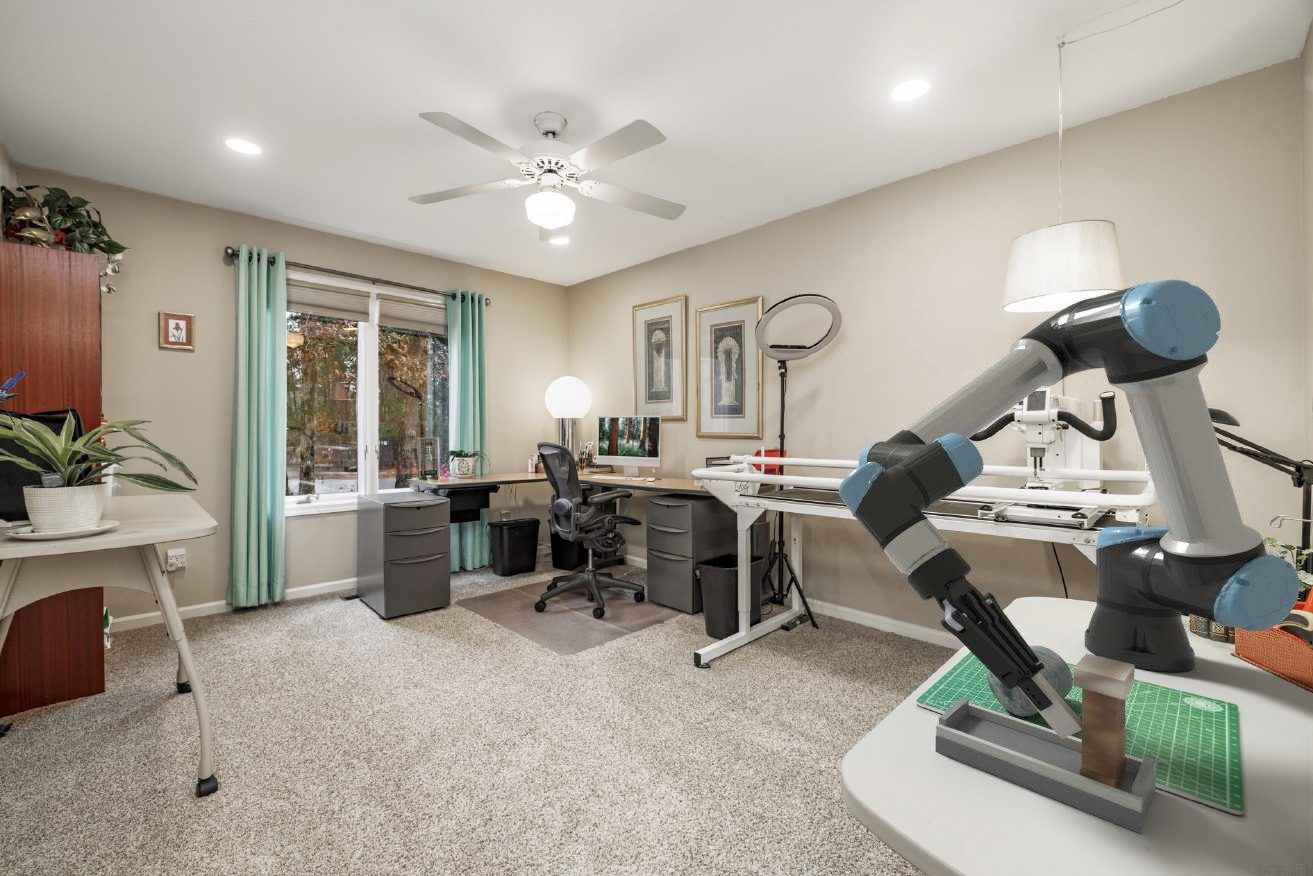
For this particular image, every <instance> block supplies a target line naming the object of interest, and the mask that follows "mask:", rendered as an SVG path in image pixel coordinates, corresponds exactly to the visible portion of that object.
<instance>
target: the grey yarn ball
mask: <svg viewBox="0 0 1313 876" xmlns="http://www.w3.org/2000/svg"><path fill="white" fill-rule="evenodd" d="M1029 647H1030V648H1031V649H1032V651H1033V652H1034V653H1035V655H1036V656H1037V657H1038V659H1039V662H1038V663H1037V664H1036V665H1038V664H1040V663H1041V662H1042V663H1043V664H1044V666H1045V668H1044V669H1042V670H1040V671H1038V673H1039V672H1040V673H1041V675H1042V676H1043V677H1044V678H1045V679H1046V680H1047V682H1048V683H1049V684H1050V685H1051V686H1052V687H1053V688H1054V690H1055V691H1056V692H1057V693H1058V694H1059V695H1060V696H1061V698H1062V699H1063V700H1064V699H1065V698H1066V697H1067V696H1068V695H1069V693H1070V692H1071V691H1072V689H1073V687H1074V686H1073V683H1074V676H1073V675H1072V672H1071V670H1070V667H1069V665H1068V664H1067V663H1066V661H1065V659H1064V658H1063V657H1061V656H1060V655H1059V654H1058V653H1057V652H1055V651H1054V650H1052V649H1051V648H1049V647H1046V646H1042V645H1029ZM986 677H987V678H986V679H987V683H988V686H989V689H990V692H991V693H992V695H993V696H994V697H995V699H996V700H997V701H998V703H999V704H1000V705H1001V706H1002V707H1003V708H1004V709H1005V710H1006V711H1008V712H1010V713H1011V714H1012V715H1015V716H1018V717H1032V716H1035V715H1037V714H1038V713H1039V712H1038V711H1037V709H1036V708H1035V707H1034V706H1033V705H1032V703H1031V702H1030V701H1029V700H1028V699H1027V697H1026V696H1025V695H1024V694H1023V693H1022V691H1021V690H1020V689H1019V688H1018V687H1017V686H1016V687H1014V688H1013V689H1008V688H1007V687H1006V686H1005V685H1004V684H1002V683H1001V682H1000V681H999V680H998V679H997V677H996V676H995V675H994V674H993V673H992V672H991V671H990V670H989V669H988V668H987V673H986Z"/></svg>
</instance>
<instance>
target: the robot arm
mask: <svg viewBox="0 0 1313 876" xmlns="http://www.w3.org/2000/svg"><path fill="white" fill-rule="evenodd" d="M1221 322H1222V321H1221V315H1220V312H1219V309H1218V307H1217V305H1216V303H1215V302H1214V300H1213V299H1212V298H1211V296H1210V295H1209V294H1208V292H1206V291H1204V289H1202V288H1201V287H1199V286H1198V285H1192V284H1191V283H1190V282H1189V281H1185V280H1180V279H1165V280H1164V279H1163V280H1160V281H1155V282H1144V283H1141V284H1137V285H1134V286H1131V287H1127V288H1124V289H1120V290H1117V291H1114V292H1113V291H1112V292H1110V293H1106V294H1103V295H1098V296H1095V297H1090V298H1086V299H1082V300H1080V301H1077V302H1075V303H1072V304H1071V305H1068V306H1067V307H1065V308H1063V309H1061V310H1060V311H1058V312H1056V313H1055V314H1053V315H1052V316H1050V317H1049V318H1048V319H1045V321H1043V322H1041V323H1040V324H1038V325H1037V326H1035V327H1034V328H1033V329H1032V330H1031V329H1030V331H1029V332H1027V333H1025V335H1022V336H1021V337H1020V338H1019V339H1017V340H1016V341H1015V342H1014V343H1013V344H1012V345H1011V346H1010V349H1009V353H1008V354H1007V355H1005V356H1004V357H1002V358H1001V359H1000V360H998V361H997V362H995V363H994V364H992V365H991V366H990V367H988V368H987V369H985V371H983V372H982V373H980V374H979V375H978V376H976V377H975V378H973V379H972V380H971V381H969V382H968V383H967V384H965V385H963V386H962V387H960V388H959V389H957V390H956V391H955V392H953V393H952V394H951V395H949V396H948V397H947V398H945V399H944V400H942V401H941V402H940V403H938V404H937V405H935V406H934V407H933V408H931V409H929V410H928V411H926V413H925V414H923V415H922V416H920V417H919V418H918V419H916V420H914V421H913V422H911V423H910V424H909V425H908V426H906V427H905V428H904V429H901V430H900V431H899V432H897V433H895V434H893V436H892V437H889V439H887V440H886V441H878V442H874V443H871V444H868V445H867V446H865V448H863V450H862V452H861V453H860V455H859V458H858V467H857V468H854V470H852V471H851V472H850V473H849V474H847V476H845V478H844V479H843V480H842V481H841V483H840V485H839V489H838V495H839V497H840V498H841V500H842V501H843V503H844V505H845V506H846V507H847V509H848V510H849V511H850V512H851V514H852V517H854V518H855V519H856V520H857V521H858V522H859V524H861V527H863V528H864V530H865V531H866V532H867V533H868V534H869V535H870V536H871V537H872V538H873V540H874V541H875V542H876V543H877V545H878V546H879V547H880V548H881V550H882V551H883V552H884V553H885V554H886V556H887V558H889V560H888V561H889V563H890V564H892V565H894V566H895V567H896V568H897V569H898V571H899V572H900V573H901V574H904V575H908V576H907V582H908V584H909V585H910V586H911V587H912V588H913V590H914V591H915V592H916V593H917V595H919V597H920V598H921V600H924V601H930V600H932V599H935V601H936V602H937V604H938V607H939V608H940V609H941V611H942V612H943V613H944V614H945V617H943V618H942V619H941V620H940V625H941V626H942V627H943V628H944V629H945V630H947V631H948V632H949V633H951V634H952V635H954V637H956V639H957V640H959V641H960V642H961V643H962V644H963V645H964V647H966V648H967V649H968V650H969V651H970V653H972V654H973V656H975V658H977V660H979V661H980V663H981V664H983V665H984V666H985V667H986V669H987V670H988V669H989V670H990V671H991V672H992V673H993V674H994V675H995V676H996V677H997V679H998V680H999V681H1000V682H1001V683H1002V684H1004V685H1005V686H1006V687H1007V688H1008V689H1013V688H1014V687H1016V686H1017V687H1018V688H1019V689H1020V690H1021V691H1022V693H1023V694H1024V695H1025V696H1026V697H1027V699H1028V700H1029V701H1030V702H1031V703H1032V705H1033V706H1034V707H1035V708H1036V709H1037V711H1038V713H1039V715H1040V716H1041V717H1042V718H1043V719H1044V720H1045V721H1046V723H1047V724H1048V725H1049V726H1050V727H1051V729H1052V730H1054V731H1055V732H1056V733H1057V734H1058V736H1059V737H1060V738H1061V739H1063V738H1066V737H1068V736H1073V735H1074V734H1076V733H1078V732H1080V731H1082V718H1080V717H1079V716H1078V714H1077V713H1076V712H1075V711H1073V709H1072V708H1071V707H1070V705H1069V704H1068V703H1067V702H1066V701H1065V700H1064V698H1063V699H1062V698H1061V696H1060V695H1059V694H1058V693H1057V692H1056V691H1055V690H1054V688H1053V687H1052V686H1051V685H1050V684H1049V683H1048V682H1047V680H1046V679H1045V678H1044V677H1043V676H1042V675H1041V673H1040V672H1039V673H1038V671H1040V670H1042V669H1044V668H1045V666H1044V664H1043V663H1042V662H1041V663H1040V664H1038V665H1036V664H1037V663H1038V662H1039V659H1038V657H1037V656H1036V655H1035V653H1034V652H1033V651H1032V649H1031V648H1030V647H1029V646H1030V645H1029V644H1028V642H1027V641H1026V640H1025V639H1024V637H1023V636H1022V635H1021V634H1020V632H1019V631H1018V629H1017V628H1016V627H1015V626H1014V624H1013V623H1012V622H1011V620H1010V618H1009V617H1008V616H1007V615H1006V613H1005V612H1004V611H1003V609H1002V608H1001V606H1000V605H999V602H998V601H997V599H996V597H995V596H994V594H992V593H991V592H987V593H985V594H984V595H983V593H981V591H980V590H979V589H978V588H977V587H976V586H974V584H972V583H970V581H969V580H968V579H967V578H966V576H967V575H969V574H970V572H971V571H972V568H971V566H970V564H969V563H968V562H967V561H966V560H965V558H963V556H962V555H961V554H960V553H959V552H958V551H957V549H956V548H952V547H948V545H949V540H948V539H947V538H946V536H944V535H943V533H942V532H941V531H940V530H939V529H938V528H937V527H936V526H935V525H934V524H933V523H932V521H931V520H930V519H929V518H928V517H927V516H926V515H925V514H924V513H923V512H924V511H926V510H928V509H929V508H930V507H931V506H933V505H935V504H937V503H938V502H940V501H942V500H943V499H945V498H948V497H949V496H950V495H952V494H953V493H955V492H957V491H959V490H960V489H962V488H966V487H967V485H968V484H969V483H971V482H972V481H973V480H976V478H978V477H979V476H980V475H981V474H982V473H983V470H984V460H983V457H982V456H981V453H980V451H979V449H978V447H977V446H976V445H975V444H974V443H973V442H972V441H971V440H970V438H971V437H973V436H974V435H976V434H977V433H978V432H980V431H981V430H982V429H984V428H985V427H987V426H988V425H990V424H991V423H993V422H994V421H996V419H998V418H999V417H1001V416H1002V415H1004V414H1005V413H1006V412H1008V411H1009V410H1011V409H1012V408H1014V407H1015V406H1017V404H1019V403H1020V402H1022V401H1023V400H1024V399H1026V398H1027V397H1029V396H1030V395H1031V394H1033V393H1035V391H1037V390H1038V389H1040V388H1041V387H1051V386H1055V385H1057V384H1058V383H1059V382H1060V381H1062V380H1064V379H1065V378H1067V377H1069V376H1072V375H1075V374H1076V373H1080V372H1084V371H1090V370H1095V369H1104V372H1105V374H1106V375H1105V376H1106V378H1107V382H1108V384H1109V385H1110V386H1112V387H1114V388H1117V389H1119V390H1121V391H1122V392H1124V394H1125V397H1126V400H1127V403H1128V407H1129V411H1130V412H1131V413H1130V414H1131V415H1132V420H1133V423H1134V425H1135V428H1136V432H1137V436H1138V438H1139V442H1140V445H1141V448H1142V451H1143V455H1144V458H1145V461H1146V464H1147V467H1148V471H1149V474H1150V477H1151V479H1152V484H1153V486H1154V489H1155V493H1156V496H1157V499H1158V502H1159V505H1160V509H1161V512H1162V515H1163V519H1164V521H1165V525H1166V527H1165V526H1110V527H1104V528H1102V529H1101V530H1100V531H1099V532H1098V534H1097V544H1096V547H1095V551H1096V552H1095V556H1096V557H1095V558H1096V561H1095V563H1096V566H1095V567H1096V569H1095V570H1096V606H1095V609H1094V611H1093V613H1092V616H1091V618H1090V621H1089V623H1088V628H1086V629H1085V632H1084V647H1085V648H1086V649H1087V650H1088V651H1090V653H1093V655H1094V654H1095V656H1099V657H1104V658H1108V659H1112V660H1116V661H1121V662H1125V663H1129V664H1133V665H1135V666H1134V668H1139V669H1143V670H1150V671H1158V672H1169V673H1170V672H1175V673H1177V672H1187V671H1190V670H1193V669H1194V668H1195V666H1196V665H1195V664H1196V658H1195V657H1196V653H1195V651H1194V648H1193V647H1192V645H1191V643H1190V640H1189V637H1188V634H1187V631H1186V628H1185V626H1184V623H1183V619H1182V613H1186V614H1189V615H1192V616H1196V617H1199V618H1201V619H1205V620H1208V621H1210V622H1211V621H1212V622H1215V623H1217V624H1218V625H1220V626H1222V627H1231V628H1232V627H1233V628H1236V629H1239V630H1243V631H1247V632H1262V631H1266V630H1269V629H1273V628H1274V627H1276V626H1277V625H1279V624H1280V623H1282V622H1284V620H1286V618H1287V617H1288V616H1289V615H1290V614H1291V612H1292V610H1293V608H1294V607H1295V606H1296V603H1297V602H1298V598H1299V594H1300V587H1301V585H1300V584H1301V583H1300V578H1299V573H1298V571H1297V570H1296V568H1295V566H1294V565H1292V563H1291V562H1289V561H1287V560H1286V559H1285V558H1282V557H1280V556H1279V555H1274V554H1268V553H1267V552H1268V551H1267V549H1266V546H1265V543H1264V541H1263V537H1262V534H1261V533H1260V532H1259V531H1257V529H1254V528H1253V527H1250V526H1248V525H1245V524H1244V523H1243V519H1242V516H1241V512H1240V509H1239V506H1238V503H1237V499H1236V496H1235V493H1234V489H1233V487H1232V484H1231V483H1232V482H1231V481H1230V477H1229V473H1228V469H1227V467H1226V463H1225V460H1224V457H1223V453H1222V450H1221V448H1220V444H1219V440H1218V437H1217V434H1216V431H1215V427H1214V425H1213V421H1212V418H1211V415H1210V414H1211V413H1210V411H1209V407H1208V404H1207V402H1206V398H1205V395H1204V391H1203V389H1202V386H1201V381H1200V379H1199V375H1200V373H1201V372H1202V370H1203V369H1204V368H1205V367H1206V365H1207V364H1208V363H1209V358H1208V355H1207V352H1209V351H1210V350H1211V349H1212V348H1213V347H1214V346H1215V345H1216V343H1217V341H1218V340H1219V337H1220V336H1219V335H1218V334H1217V333H1219V332H1220V331H1221V328H1222V323H1221Z"/></svg>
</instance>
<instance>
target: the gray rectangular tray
mask: <svg viewBox="0 0 1313 876" xmlns="http://www.w3.org/2000/svg"><path fill="white" fill-rule="evenodd" d="M935 726H936V728H935V730H936V731H935V732H936V733H935V753H939V754H940V755H943V756H946V757H949V758H951V759H954V760H956V761H958V762H961V763H963V764H966V765H969V766H972V767H974V768H976V769H978V770H981V771H984V772H986V773H988V774H990V775H994V776H996V777H998V778H1000V779H1003V780H1006V781H1008V782H1010V783H1013V784H1015V785H1018V786H1020V787H1024V788H1025V789H1029V790H1031V791H1032V792H1033V791H1034V792H1036V793H1038V794H1041V795H1043V796H1045V797H1048V798H1051V799H1053V800H1056V801H1058V802H1060V803H1063V804H1065V805H1068V806H1071V807H1073V808H1075V809H1078V810H1081V811H1083V812H1086V813H1088V814H1090V815H1093V816H1095V817H1098V818H1101V819H1104V820H1105V821H1108V822H1110V823H1112V824H1115V825H1118V826H1120V827H1123V828H1125V829H1127V830H1131V831H1132V832H1136V833H1138V834H1141V833H1142V830H1143V826H1144V823H1145V822H1146V821H1145V820H1146V818H1147V815H1148V813H1149V810H1150V807H1151V804H1152V801H1153V798H1154V795H1155V793H1156V762H1155V758H1152V757H1149V756H1146V755H1145V756H1144V758H1140V757H1137V756H1133V755H1130V754H1127V753H1125V757H1126V768H1125V770H1124V772H1123V774H1122V777H1121V779H1120V781H1119V783H1118V785H1117V787H1116V788H1114V787H1111V786H1108V785H1105V784H1103V783H1100V782H1097V781H1094V780H1092V779H1089V778H1086V777H1084V776H1081V775H1079V771H1080V769H1081V767H1082V738H1078V737H1075V736H1073V735H1070V736H1068V737H1066V738H1063V739H1061V738H1060V737H1059V736H1058V734H1057V733H1056V732H1055V731H1054V730H1053V729H1052V728H1051V729H1050V728H1047V727H1045V726H1041V725H1038V724H1035V723H1033V722H1030V721H1027V720H1023V719H1020V718H1017V717H1014V716H1011V715H1008V714H1004V713H1001V712H999V711H995V710H993V709H989V708H986V707H983V706H980V705H978V704H974V703H971V702H970V699H968V698H965V697H963V696H962V697H961V698H960V699H959V700H957V702H956V703H954V704H953V705H952V706H951V707H950V708H948V709H947V710H946V711H945V712H943V714H941V715H940V716H938V724H937V725H935Z"/></svg>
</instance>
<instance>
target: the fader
mask: <svg viewBox="0 0 1313 876" xmlns="http://www.w3.org/2000/svg"><path fill="white" fill-rule="evenodd" d="M1134 666H1135V665H1133V664H1129V663H1125V662H1121V661H1116V660H1112V659H1108V658H1104V657H1100V656H1098V655H1096V654H1095V655H1094V654H1090V653H1085V654H1084V655H1083V656H1082V658H1081V659H1080V660H1079V661H1078V662H1077V663H1076V664H1075V665H1074V667H1073V686H1072V687H1076V688H1080V689H1082V690H1081V693H1082V694H1081V695H1082V697H1081V721H1082V730H1081V739H1082V767H1081V769H1080V771H1079V775H1081V776H1084V777H1086V778H1089V779H1092V780H1094V781H1097V782H1100V783H1103V784H1105V785H1108V786H1111V787H1114V788H1116V787H1117V785H1118V783H1119V781H1120V779H1121V777H1122V774H1123V772H1124V770H1125V768H1126V757H1125V754H1126V698H1127V696H1128V694H1129V692H1130V691H1131V689H1132V687H1133V686H1134V684H1135V667H1134Z"/></svg>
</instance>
